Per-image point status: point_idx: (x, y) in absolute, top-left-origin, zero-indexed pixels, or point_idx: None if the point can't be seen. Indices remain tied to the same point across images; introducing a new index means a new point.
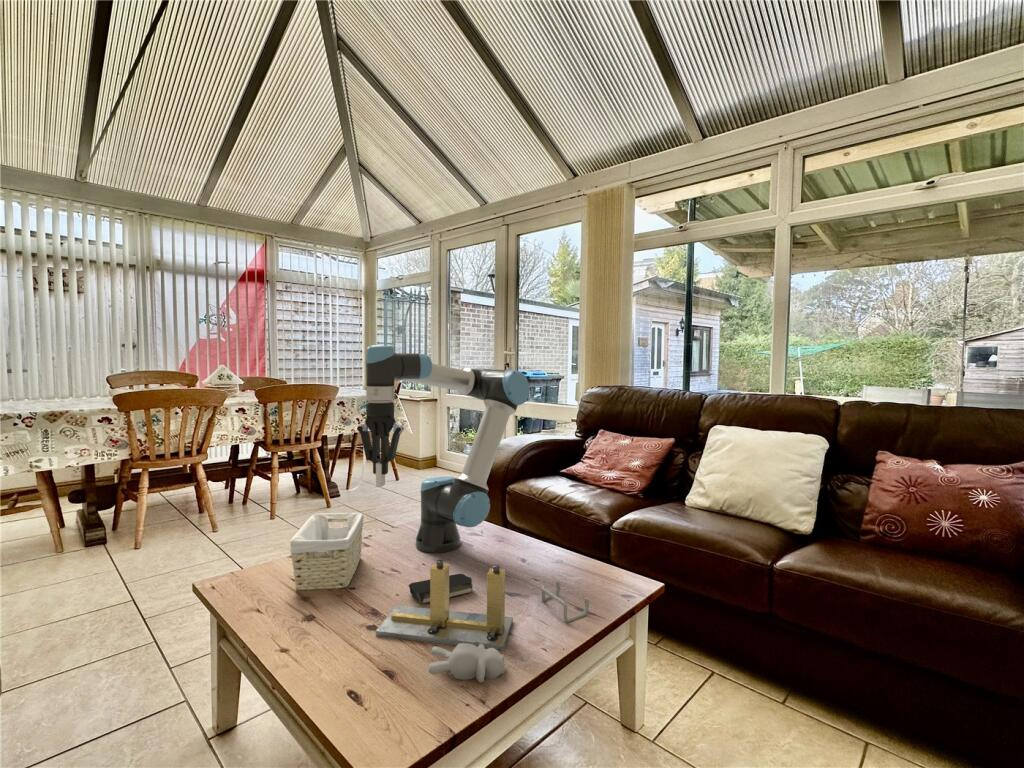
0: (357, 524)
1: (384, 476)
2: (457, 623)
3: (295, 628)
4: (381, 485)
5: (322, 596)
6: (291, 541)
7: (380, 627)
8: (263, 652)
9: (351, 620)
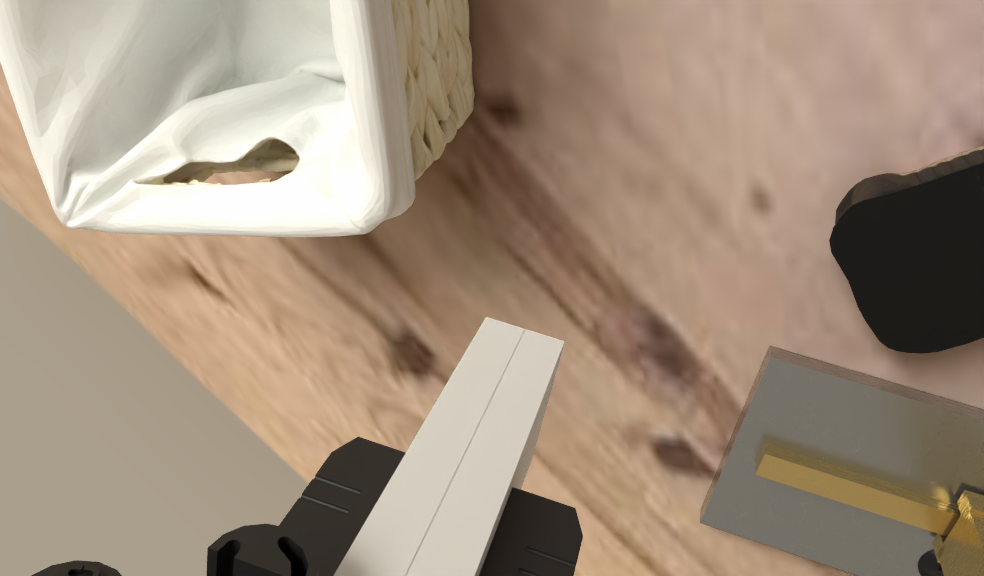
0: None
1: (529, 435)
2: None
3: (393, 416)
4: (532, 451)
5: None
6: (68, 227)
7: (715, 506)
8: None
9: (581, 397)
